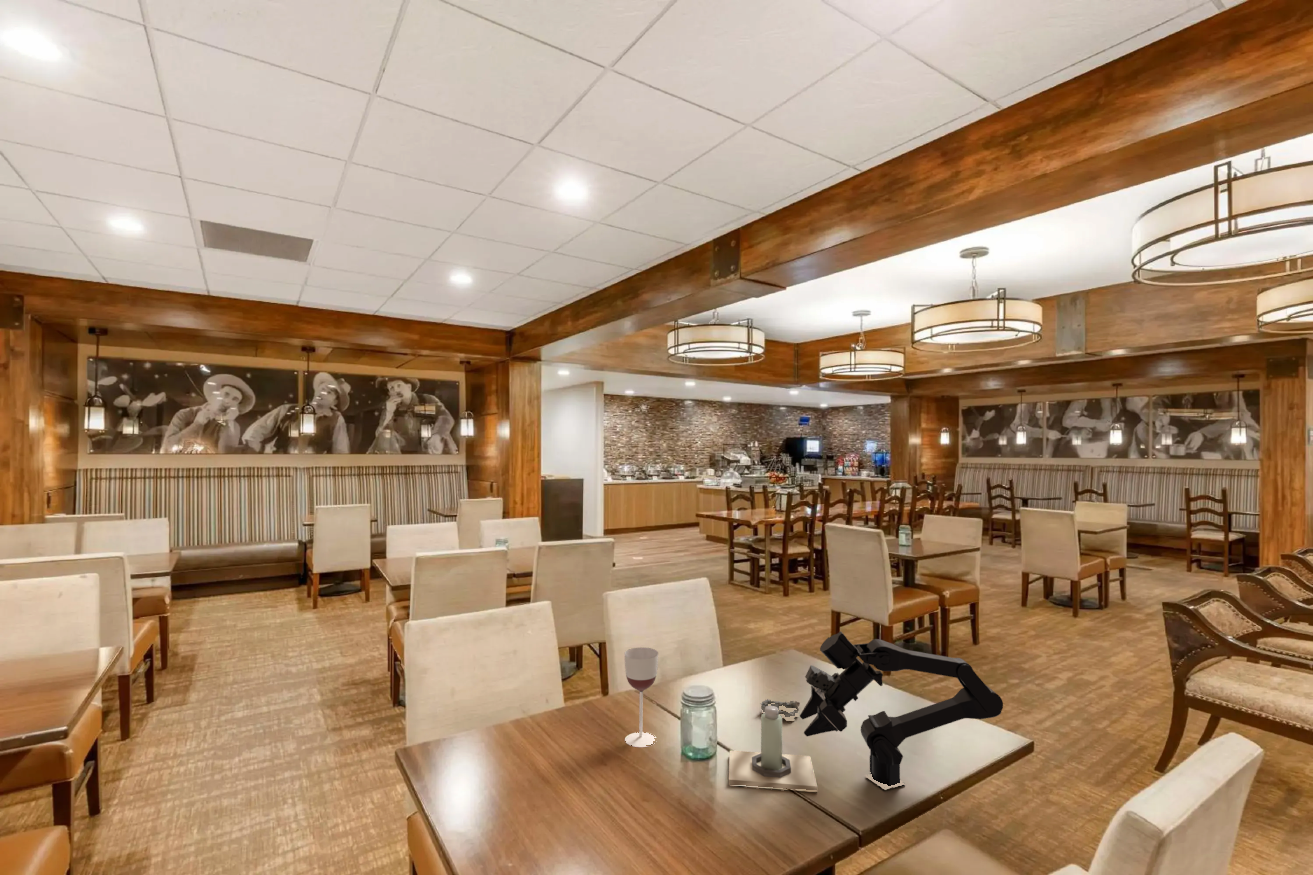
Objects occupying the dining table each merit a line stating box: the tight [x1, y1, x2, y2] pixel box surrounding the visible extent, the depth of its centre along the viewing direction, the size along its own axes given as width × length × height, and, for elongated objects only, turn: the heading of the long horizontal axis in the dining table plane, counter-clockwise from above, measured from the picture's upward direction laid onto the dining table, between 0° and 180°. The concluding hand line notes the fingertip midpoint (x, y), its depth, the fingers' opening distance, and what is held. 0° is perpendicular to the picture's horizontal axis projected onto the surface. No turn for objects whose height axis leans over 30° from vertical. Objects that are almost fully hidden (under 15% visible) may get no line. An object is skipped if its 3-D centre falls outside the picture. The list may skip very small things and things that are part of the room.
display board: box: [728, 750, 818, 791], centre depth 144 cm, size 20×14×3 cm
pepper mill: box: [760, 706, 783, 770], centre depth 145 cm, size 5×5×14 cm
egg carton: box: [759, 698, 801, 717], centre depth 178 cm, size 11×8×4 cm
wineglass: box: [624, 646, 659, 748], centre depth 162 cm, size 9×10×23 cm
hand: (803, 725), depth 144 cm, fingers open, 9 cm apart
